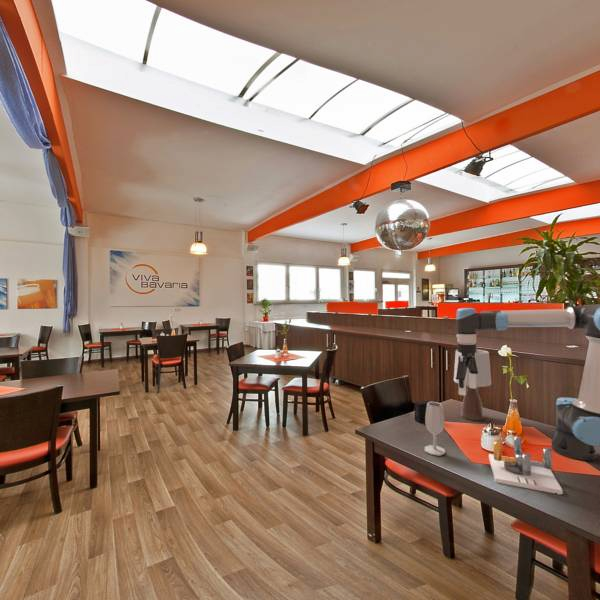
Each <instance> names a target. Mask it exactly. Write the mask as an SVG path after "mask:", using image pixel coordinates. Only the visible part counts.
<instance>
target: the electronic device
mask: <svg viewBox="0 0 600 600" xmlns="http://www.w3.org/2000/svg"><path fill="white" fill-rule="evenodd" d="M428 402H432V400H421V401H416V402H414V420H415V421H416V422H418V423H419V424H421V423H425V413H426V407H427V404H428Z"/></svg>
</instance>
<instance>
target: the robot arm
mask: <svg viewBox="0 0 600 600" xmlns="http://www.w3.org/2000/svg"><path fill="white" fill-rule="evenodd" d="M455 319H456V335H455V337H456V339H457V344H456V346H457V347H456V348H457V349H456V350H457V351H458V352H460V353H462V356H459V357H458V358H459V360H458V368H457V375H456V379H457V380H458V383H457V385H458V387H457V388H458V395H459V396H463V397H464V396H466V391H467V388H466V387H467V386H466V380H465V376H466V371H467V367H468V369H469V372H470V373H469V388H474V389H476V374H478V370H477V365H476V360H475V353H476V349H477V344H476V343H477V331H498V332H499V331H506V330H508V328H551V327H552V328H554V327H556V328H558V327H559V328H562V327H564V328H565V327H566V328H568V329H569V330H583V331H585V338H586V339H587V340H588V342H589V343H588V348H587V352H586V358H585V363H584V368H583V371H582V372H583V373H582V378H581V383H580V387H579V388H580V389H579V394H578V398H575V397H558V398H557V399H556V404H555V406H556V409H555V410H556V413H555V414H556V417H555V418H556V421H555V422H556V423H555V424H556V425H555V427H556V429H555V430H556V431H555V433H554V436H553V438H552V440H551V443H550V444H551V450H552V451H554V452H555V453H556V454H557V453H558V454H559V455H562V456H564V457H567V458H571V459H575V460H581V461H594V460H596V459H597V455H598V453H597V449H596V446H598V447H600V303H594V304H587V305H586V304H585V305H577V306H567V308H564V309H563V308H562V309H560V308H556V309H552V308H551V309H520V310H519V309H517V310H516V309H515V310H513V309H512V310H482V311H481V312H477V311H476V308H473V307H463V308H462V307H461V308H458V309H457V310H456V318H455Z"/></svg>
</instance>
